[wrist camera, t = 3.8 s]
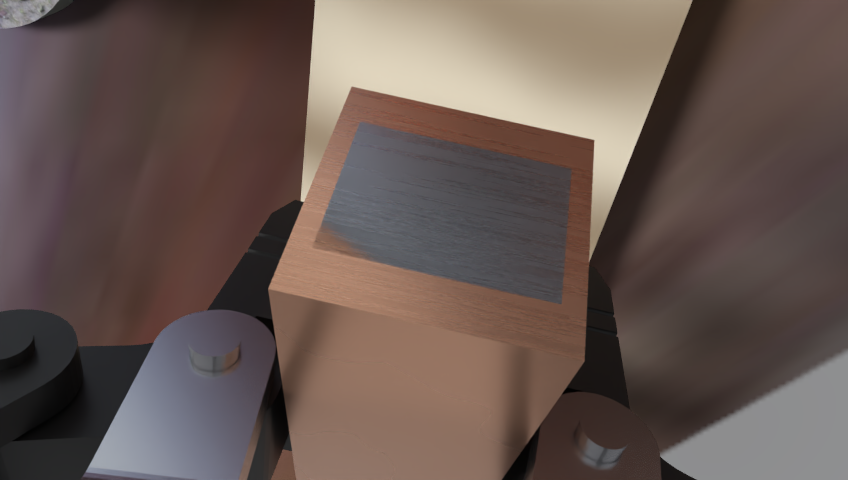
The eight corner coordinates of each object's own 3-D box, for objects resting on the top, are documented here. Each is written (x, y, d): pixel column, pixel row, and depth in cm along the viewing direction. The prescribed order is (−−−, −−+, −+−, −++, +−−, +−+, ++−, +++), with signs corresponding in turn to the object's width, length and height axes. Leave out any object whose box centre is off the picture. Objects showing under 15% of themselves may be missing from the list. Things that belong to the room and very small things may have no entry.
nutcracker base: (347, -224, 17) (61, -285, 7) (732, -144, 16) (1038, -83, 6) (300, 340, 28) (168, 631, 18) (527, 392, 27) (521, 717, 18)
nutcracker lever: (430, 473, 21) (401, 628, 18) (351, 455, 21) (311, 605, 18) (608, 25, 7) (596, 365, 5) (387, -22, 7) (255, 285, 5)
